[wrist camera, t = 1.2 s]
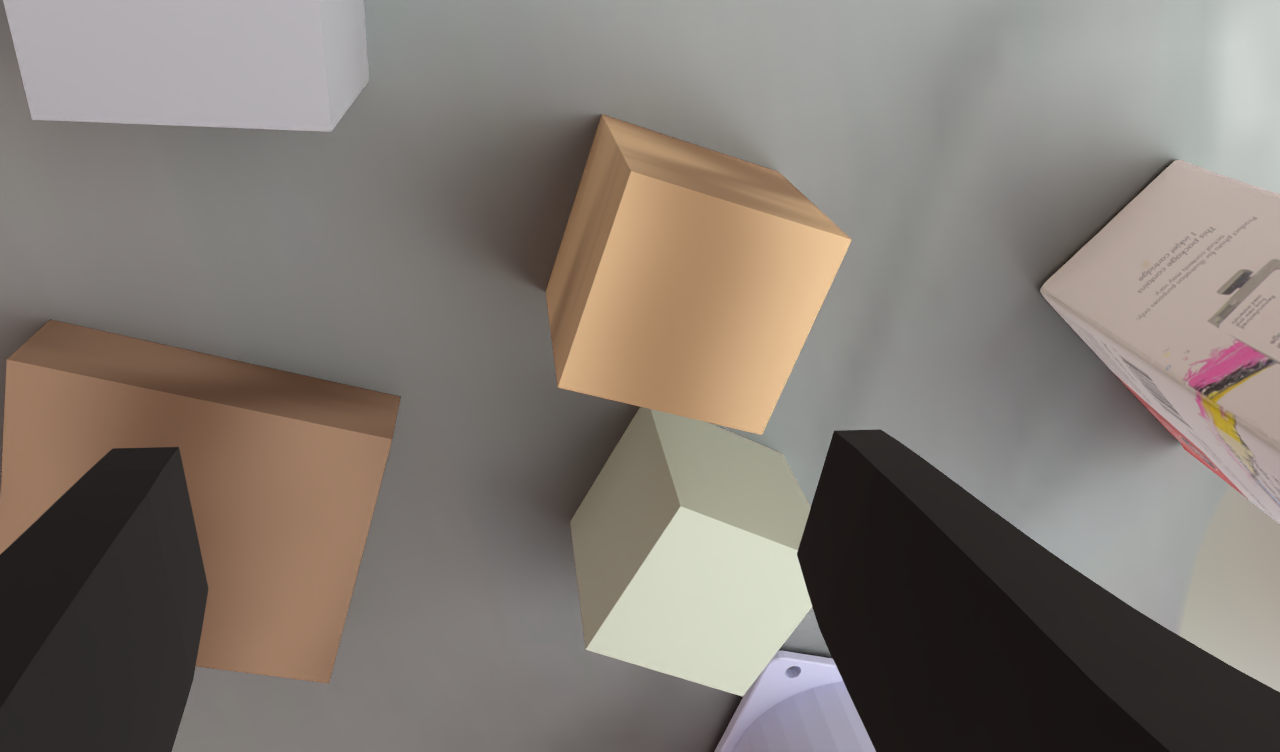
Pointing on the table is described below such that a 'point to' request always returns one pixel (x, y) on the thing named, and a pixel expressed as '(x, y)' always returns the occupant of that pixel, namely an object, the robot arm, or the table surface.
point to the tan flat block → (214, 477)
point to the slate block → (191, 61)
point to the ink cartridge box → (1191, 317)
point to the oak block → (686, 279)
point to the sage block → (691, 552)
